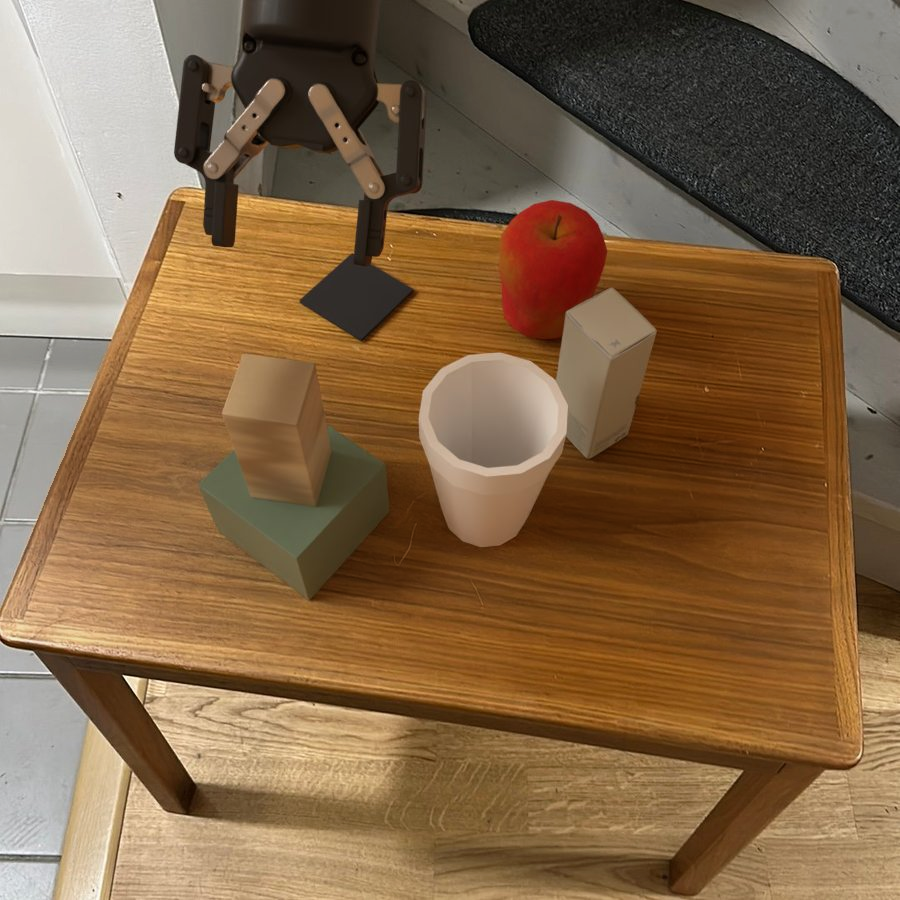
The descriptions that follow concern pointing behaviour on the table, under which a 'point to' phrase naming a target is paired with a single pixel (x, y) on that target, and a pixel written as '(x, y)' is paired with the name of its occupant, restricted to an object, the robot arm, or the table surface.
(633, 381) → the box
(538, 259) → the apple
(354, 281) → the mat
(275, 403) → the block
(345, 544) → the stand
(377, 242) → the robot arm
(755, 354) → the table surface
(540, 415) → the foam cup
